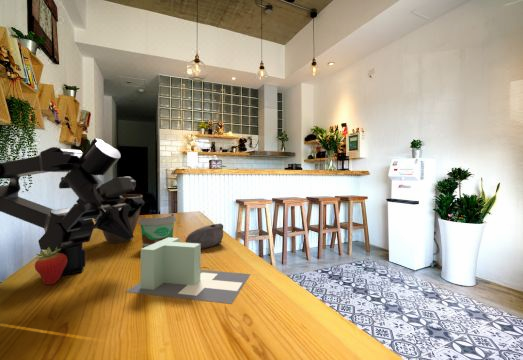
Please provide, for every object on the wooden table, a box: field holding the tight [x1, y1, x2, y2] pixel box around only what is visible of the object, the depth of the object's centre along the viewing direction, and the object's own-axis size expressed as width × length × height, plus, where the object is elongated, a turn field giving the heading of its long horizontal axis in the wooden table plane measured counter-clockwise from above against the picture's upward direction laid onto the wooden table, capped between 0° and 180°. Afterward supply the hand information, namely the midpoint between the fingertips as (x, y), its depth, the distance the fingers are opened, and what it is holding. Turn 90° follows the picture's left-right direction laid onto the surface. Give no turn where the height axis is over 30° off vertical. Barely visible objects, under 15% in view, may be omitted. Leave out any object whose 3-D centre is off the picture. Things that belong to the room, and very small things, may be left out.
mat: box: [124, 269, 251, 305], centre depth 54 cm, size 22×14×1 cm, turn 79°
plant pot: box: [101, 193, 143, 244], centre depth 89 cm, size 15×15×16 cm
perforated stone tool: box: [185, 223, 224, 249], centre depth 82 cm, size 15×5×7 cm, turn 139°
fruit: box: [34, 246, 67, 285], centre depth 54 cm, size 5×5×8 cm
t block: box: [140, 237, 202, 290], centre depth 55 cm, size 10×10×8 cm
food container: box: [138, 213, 177, 248], centre depth 82 cm, size 12×6×10 cm, turn 143°
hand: (131, 238), depth 57 cm, fingers closed
